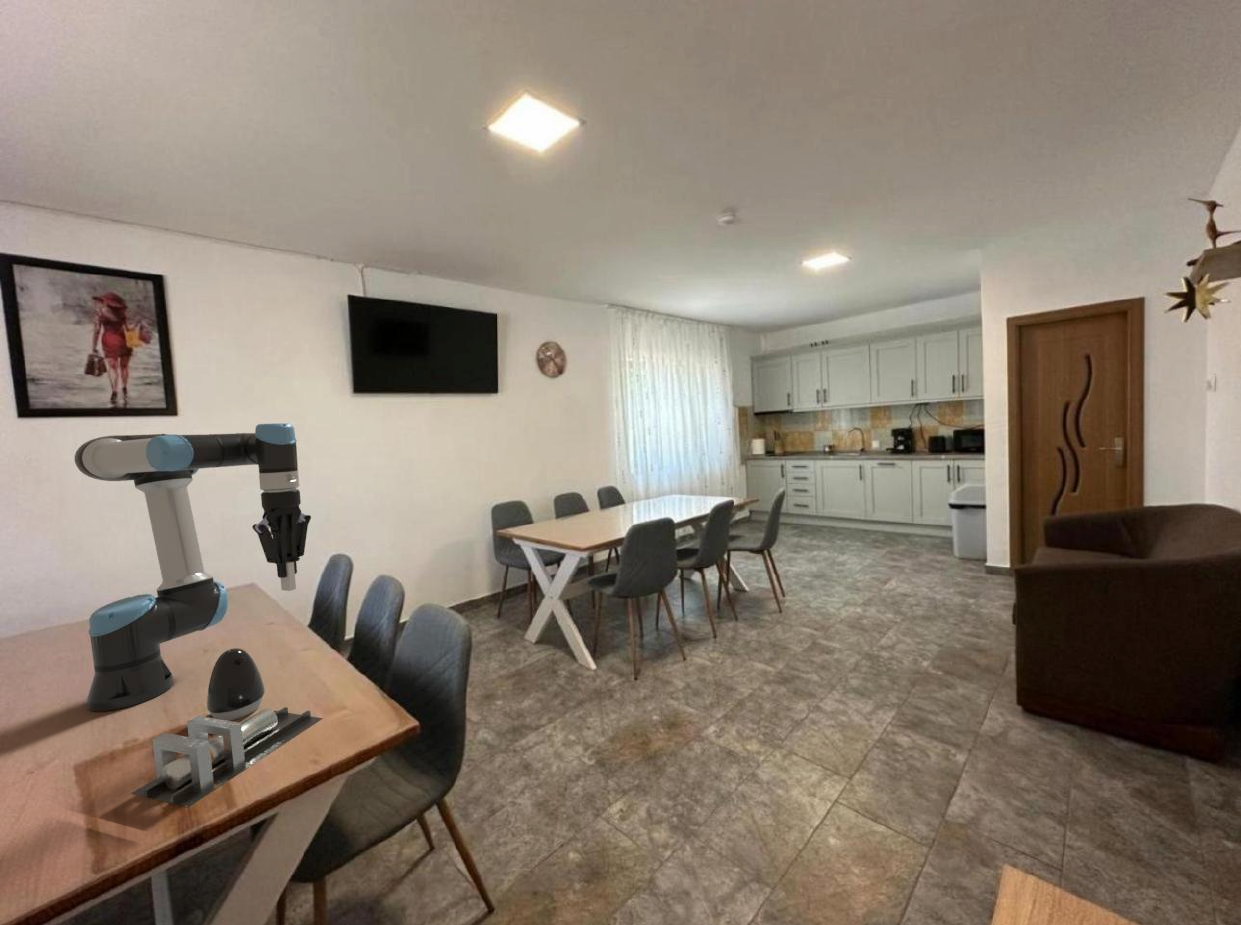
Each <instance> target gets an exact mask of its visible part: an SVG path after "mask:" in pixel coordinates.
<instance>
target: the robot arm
mask: <svg viewBox="0 0 1241 925" xmlns="http://www.w3.org/2000/svg"><path fill="white" fill-rule="evenodd" d="M297 448H298V447H297V438H296V432H295V427H294V426H293V424H290V423H288V422H287V423H281V422H280V423H260V424H257V425H256V426H255V432H249V433H248V432H241V433H239V432H236V433H211V434H166V433H159V434H158V433H157V434H155V433H154V434H130V435H128V434H126V435H121V434H120V435H119V434H118V435H116V434H115V435H106V436H101V437H100V436H99V437H96V438H93V439H90V440H88V441H85V442H84V443H83V444H81V445H80V446H79V447H78V449H77V450H76V452H75V455H74V464H75V466H76V467H77V469H78V470H79V471H80V472H81V473H82V474H83V475H85V476H87V477H89V478H90V479H91V478H92V479H95V480H99V481H106V482H121V481H123V482H125V481H133V482H134V488H135V489H137V490H138V491H140V492H142V493H143V494H144V496H145V497H144V498H145V502H146V506H147V511H148V517H149V521H150V525H151V530H152V535H153V539H154V541H153V542H154V546H155V550H156V555H157V560H158V565H159V569H160V575H161V578H162V582H161V584H160V585H159V587H157V589H156V594H157V597H155V596H154V595H153V594H148V593H145V594H144V593H143V594H137V595H134V596H129V597H124V598H122V599H121V598H120V599H118V600H115V601H112V602H110V603H107V604H105V605H103V606H101V607H99V608H97V609H96V610H94V611H93V612H92V614H90V617H89V619H88V620H89V621H88V622H89V630H88V635H89V637H90V643H91V652H92V660H93V667H94V668H93V670H94V676H93V679H92V682H91V684H90V689H89V691H88V696H87V699H86V704H87V709H88V710H89V711H91V712H110V711H115V710H120V709H125V708H128V707H132V706H135V705H139V704H141V703H144V702H146V701H148V700H152V699H153V698H155V697H158V696H160V695H162V694H164V693H166V692H167V691H168V690H170V689H171V688H172V687H173V685H174V677H173V676H174V675H173V673H172V672H171V670H170V667H168V664H166V662H165V661H164V659H163V657H162V655H161V644H162V643H166V642H170V641H172V640H174V639H178V638H181V637H183V636H187V635H189V634H193V633H195V632H200V631H204V630H206V629H207V628H210V627H213V626H215V625H217V624H219V623H221V621H223V619H224V618H225V616H226V614H227V612H228V609H229V595H228V591H227V589H226V588H225V585H223V584H222V583H221V582H219V581H214V577H213V575H211V574H210V573H207V572H205V569H204V568H205V567H204V563H203V559H202V554H201V553H202V552H201V548H200V544H199V541H198V540H199V539H198V534H197V530H196V525H195V520H194V515H193V511H192V506H191V500H190V496H189V491H188V487H189V485H190V484H191V483H192V482H193V475H195V474H196V473H197V472H198V471H199V470H200V469H210V468H214V469H215V468H224V467H225V468H226V467H239V466H253V465H254V466H256V465H258V475H259V476H258V478H259V479H258V480H259V489H260V490H261V491H263V492H261V494H260V499H261V500H260V501H261V507H262V509H263V514H262V520H261V521H259V523H255V524H253V525H252V527H251V528H252V529H253V531H254V532H255V533H256V534H257V536H258V539H259V542H260V545H261V547H262V550H263V553H264V557H265V559H266V562H267V563H269V564H275V565H276V570H277V571H276V573H277V577H278V578H280V587H281V588H280V589H281V591H288V592H290V591H294V590H296V589H297V584H296V574H297V573H298V569H297V568H298V565H297V562H299V561H300V560H301V557H303V556H304V555H305V549H306V540H307V534H308V527H309V524H310V521H311V519H312V516H311V515H309V514H304V513H302V510H301V507H300V505H301V504H302V503H301V491H300V490H299V489H297V488H299V487H300V479H299V470H298V468H299V466H298V451H297Z"/></svg>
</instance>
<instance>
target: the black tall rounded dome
mask: <svg viewBox="0 0 1241 925" xmlns="http://www.w3.org/2000/svg"><path fill="white" fill-rule="evenodd" d="M265 690H266V689H265V685H264V682H263V678H262V675H261V673H260V671H259V669H258V666H257V664H256V662H255V660H254V659H253V657H252V656H251V655H250V654H249V652H247V651H246V650H245V649H243V648H230V649H227V650H225V651H224V652H223V653H221V654H220V656H219V657H218V658H217V660H216V662H215V663H214V666H213V668H212V671H211V675H210V678H209V683H208V688H207V697H206V710H207V711H208V712H209V713H210V715H211V716H212V718H215V719H221V720H227V721H235V720H238V719H241V718H244V717H247V716H248V715H250V714H252V713H253V712H255V711H256V710H258V709H259V707H260V705H261V704H262V701H263V698H264V695H265V692H266V691H265Z"/></svg>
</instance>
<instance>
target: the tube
mask: <svg viewBox="0 0 1241 925" xmlns="http://www.w3.org/2000/svg"><path fill="white" fill-rule="evenodd" d="M274 711H275V710H273V709H271V708H270V707H269V708H267V707H266V708H265V709H262V710H261V711H259V712H257V713H256V714H253V715H252V716H251V717H248V718H246V719H245V720H243V721H241V722H240V723H241V727H242V737H243V747H245V746H246V745H248V744H250V743H251V742H253V741H254V740H256V739H258V738H259V737H261V736H263V735H264V734H266V733H267V732H269V731H271V730H272V729H274V728H275V727H276V726H277V724H278V718H277V715H276V713H275V712H274ZM209 744H210V754H211V763H212V766H214V765H215V764H217V763H219V762H220V761H222V760H224V759H225V753H224V743H223V736H221V735H217V736H215V737H213V738H211V739H209ZM162 778H163V781H164V783H165V784H166V786H167V787H169V788H170V789H176V788H178V787H180V786H181V785H183V784H185V783H186V782H188V781H189V780H191V779H192V776H191V767H190V758H189V755H187V754H182V756H179V757H178V758H176V760H174V761H172V762H171V763H169V764H167V765H165V766H164V767H163V769H162Z"/></svg>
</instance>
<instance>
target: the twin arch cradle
mask: <svg viewBox="0 0 1241 925" xmlns="http://www.w3.org/2000/svg"><path fill="white" fill-rule="evenodd" d="M273 711H274V712H275V713H276V715H277V718H278V724H277V726H276V727H275V728H274V729H272V730H271V731H269V732H267V733H266V734H264V735H263V736H261V737H259V738H258V739H256V740H254V741H253V742H251V743H250V744H248V745H246V746H245V747H243V737H242V727H241V722H238V721H234V720H231V721H227V720H221V719H215V718H213V717H207V716H203V715H198V716H194V718H191V719H190V720H187V721H186V725H187V732H188V733H187V734H188V735H187V736H184V735H180V734H174V733H168V732H164V733H162V734H160V735H158V736H156V737H155V738H152V739H151V740H152V748H153V750H152V751H153V758H154V766H155V776H156V778H155V779H153V780H151V781H150V782H148V783H146V784H145V785H143V786H142V787H139V788H137V789H136V790H134V791H133V792H131V793H130V794H132V795H136V796H139V797H144V798H148V799H153V800H156V801H160V802H164V803H168V804H171V805H176V806H180V807H184V808H191V806H193V805H194V804H196V803H197V802H200V800H202V799H203V798H205V797H207V796H208V795H209V794H211V793H213V792H214V791H216V790H217V789H219V788H221V787H222V786H223V785H225V784H226V783H228V782H230V781H231V780H232V779H234V778H235V777H237V776H238V775H240V774H241V773H243V772H244V771H246V770H248V769H249V768H251V767H252V766H254V765H255V764H256V763H258V762H260V761H261V760H262V759H264V758H265V757H267V756H269V755H270V754H272V753H274V752H275V751H276V750H278V749H279V748H281V747H282V746H283V745H285V744H287V743H289V742H290V741H291V740H293V739H294V738H295V737H297V736H299V735H300V734H302V733H303V732H305V731H306V730H308V729H310V728H311V727H312V726H314V725H316V724H318V722H320V721H322V720H323V719H324V717H323V718H322V717H317V716H312V714H311V711H310V710H306V711H304V712H303V713H301V714H298V713H293V712H289V709H288V707H285V706H284V707H282V708H281V709H280V710H273ZM209 734H210V735H211V734H212V735H217V736H218V735H221V736H223V743H224V753H225V759H224V760H222V761H220V762H219V763H217V764H215V765H214V766H212V763H211V754H210V744H209V741H210V738H209ZM176 753H179V754H182V755H185V754H187V755H189V758H190V767H191V776H192V779H191V780H189V781H188V782H186V783H185V784H183V785H181V786H180V787H178V788H176V789H170V788H169V787H167V786H166V784H165V783H164V781H163V778H162V769H163V767H164V766H165V765H167V764H169V763H171V762H172V761H174V760H176V759H177V758H176Z"/></svg>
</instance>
